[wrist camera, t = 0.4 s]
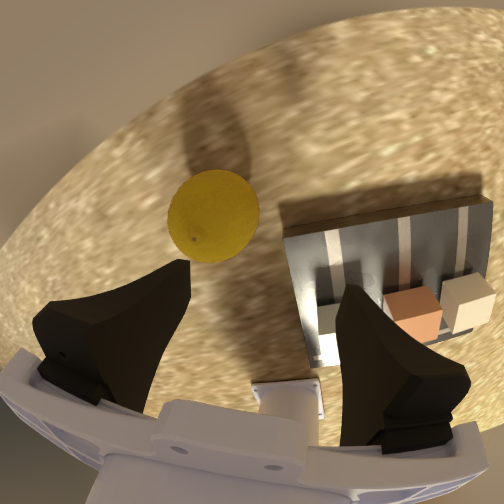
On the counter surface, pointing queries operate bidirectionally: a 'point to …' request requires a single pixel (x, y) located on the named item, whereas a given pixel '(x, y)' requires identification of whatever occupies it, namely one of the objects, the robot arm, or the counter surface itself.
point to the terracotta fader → (415, 312)
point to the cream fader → (466, 302)
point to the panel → (386, 256)
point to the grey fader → (327, 332)
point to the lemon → (213, 216)
